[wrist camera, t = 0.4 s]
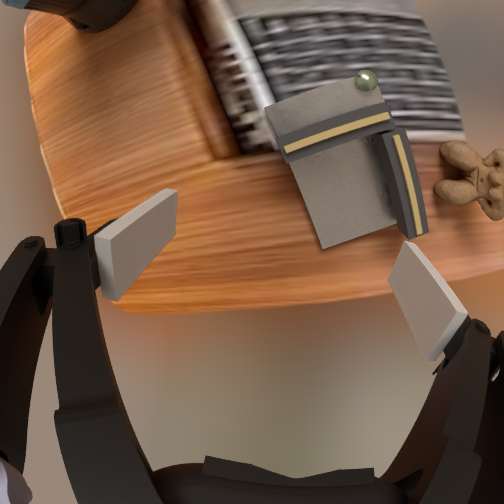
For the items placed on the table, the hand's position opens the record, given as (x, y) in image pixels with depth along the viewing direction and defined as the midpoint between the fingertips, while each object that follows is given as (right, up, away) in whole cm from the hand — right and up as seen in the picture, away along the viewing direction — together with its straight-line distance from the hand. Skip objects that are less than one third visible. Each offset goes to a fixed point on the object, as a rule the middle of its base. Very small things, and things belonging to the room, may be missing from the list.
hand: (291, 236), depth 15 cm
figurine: (+31, +12, +17) cm, 38 cm away
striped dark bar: (+8, +15, +17) cm, 24 cm away
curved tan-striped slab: (+18, +10, +19) cm, 27 cm away
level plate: (+11, +12, +20) cm, 26 cm away
